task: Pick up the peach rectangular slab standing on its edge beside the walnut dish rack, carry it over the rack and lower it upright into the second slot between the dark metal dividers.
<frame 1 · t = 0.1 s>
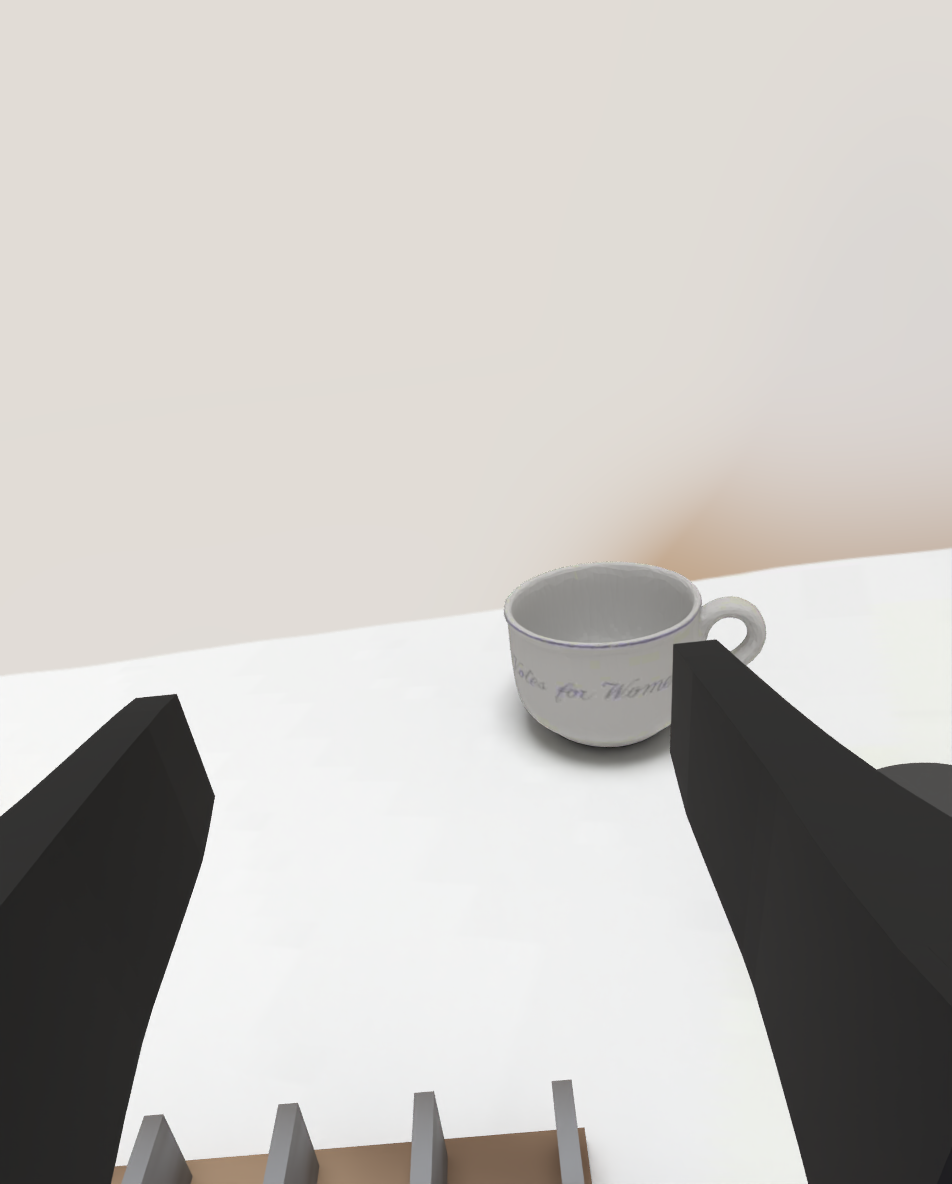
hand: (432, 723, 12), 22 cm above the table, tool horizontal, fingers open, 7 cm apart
teacup: (633, 719, 47), on the table
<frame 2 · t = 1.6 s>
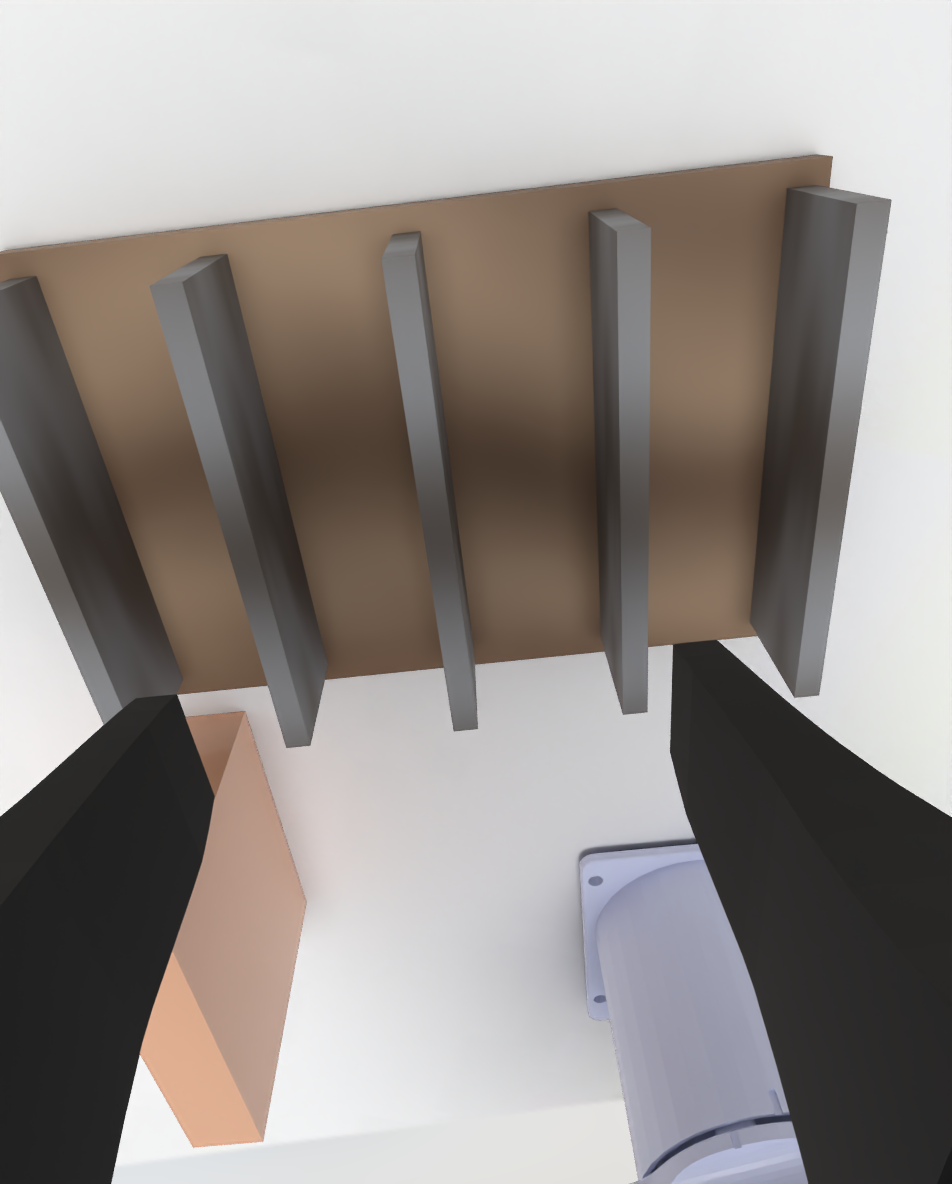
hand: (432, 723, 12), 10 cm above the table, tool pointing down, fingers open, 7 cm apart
peach rectangular slab: (249, 816, 27), on the table
dish rack: (439, 459, 21), on the table
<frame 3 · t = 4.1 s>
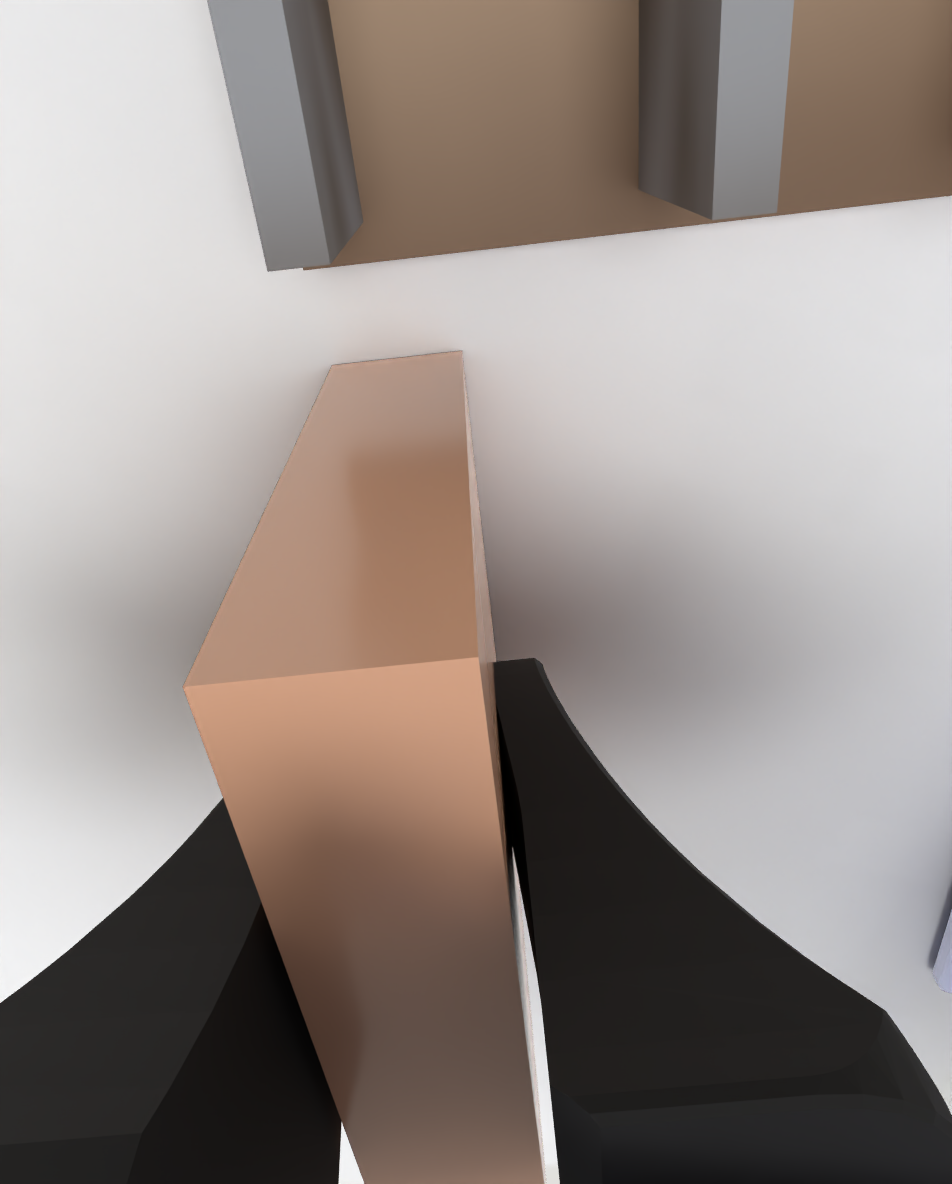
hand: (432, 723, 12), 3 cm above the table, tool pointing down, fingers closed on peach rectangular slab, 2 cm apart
peach rectangular slab: (434, 607, 15), on the table, touching gripper
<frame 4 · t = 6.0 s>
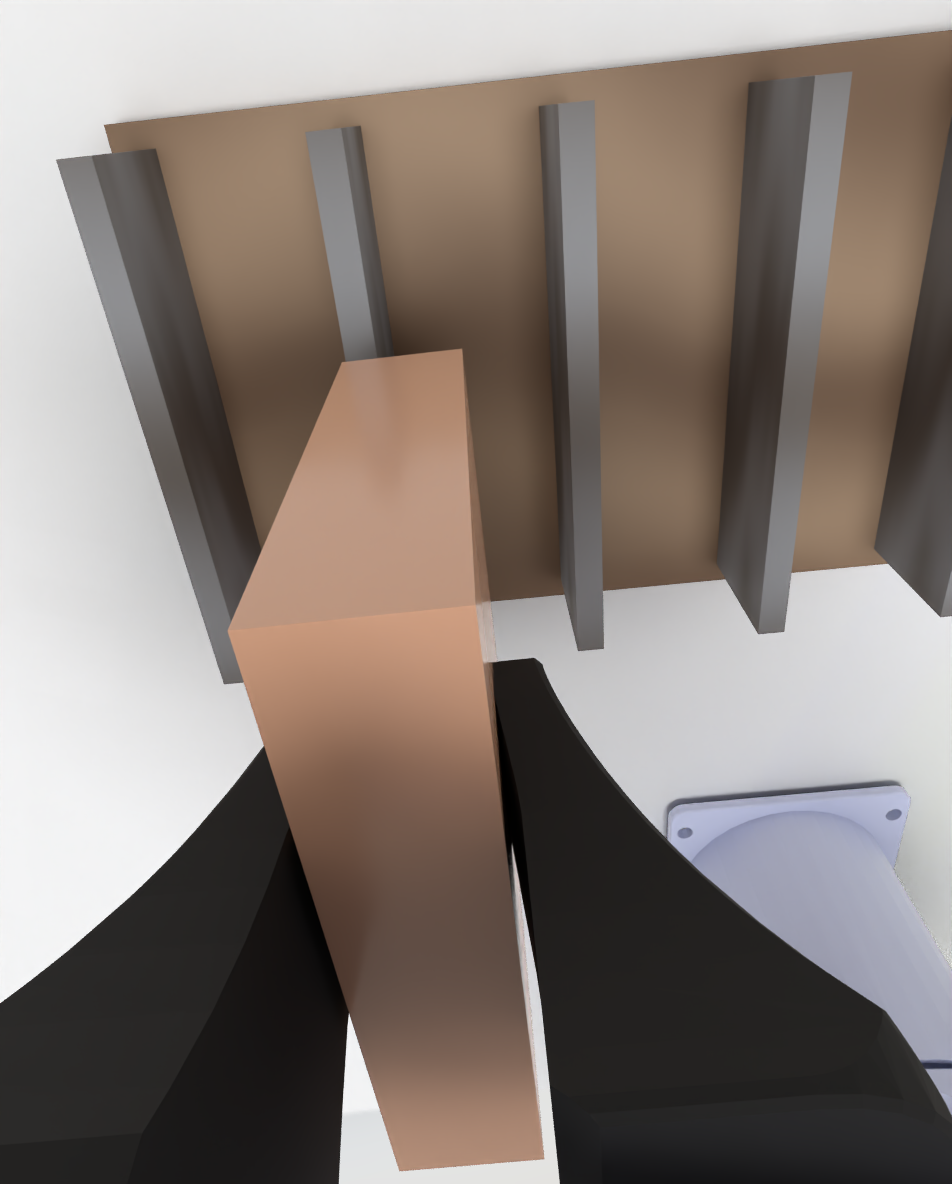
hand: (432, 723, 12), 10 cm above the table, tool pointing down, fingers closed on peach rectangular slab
peach rectangular slab: (437, 588, 16), point 6 cm above the table, touching gripper
dish rack: (560, 367, 20), on the table
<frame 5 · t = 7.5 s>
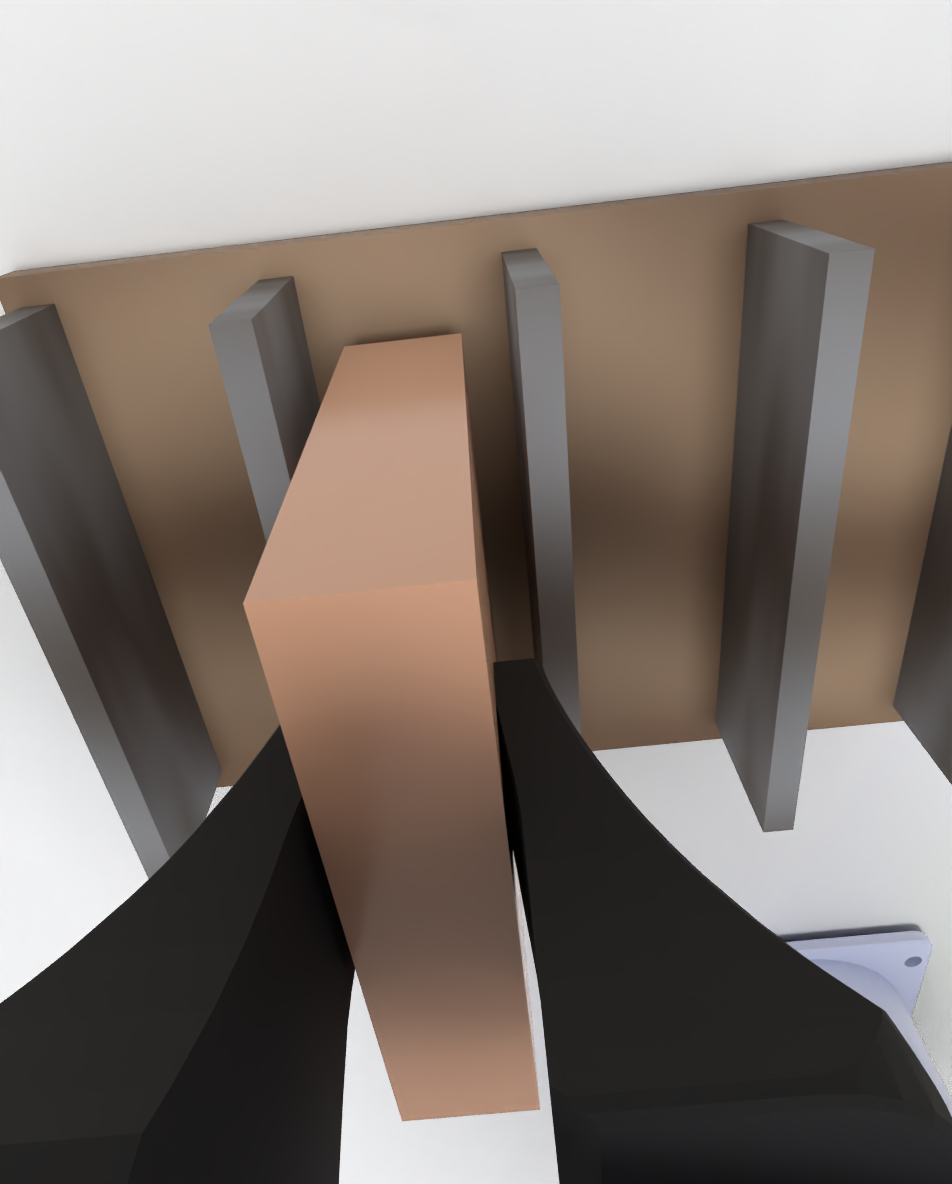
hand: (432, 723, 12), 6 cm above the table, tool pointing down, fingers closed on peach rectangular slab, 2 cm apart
peach rectangular slab: (436, 567, 16), point 2 cm above the table, touching gripper
dish rack: (535, 519, 17), on the table
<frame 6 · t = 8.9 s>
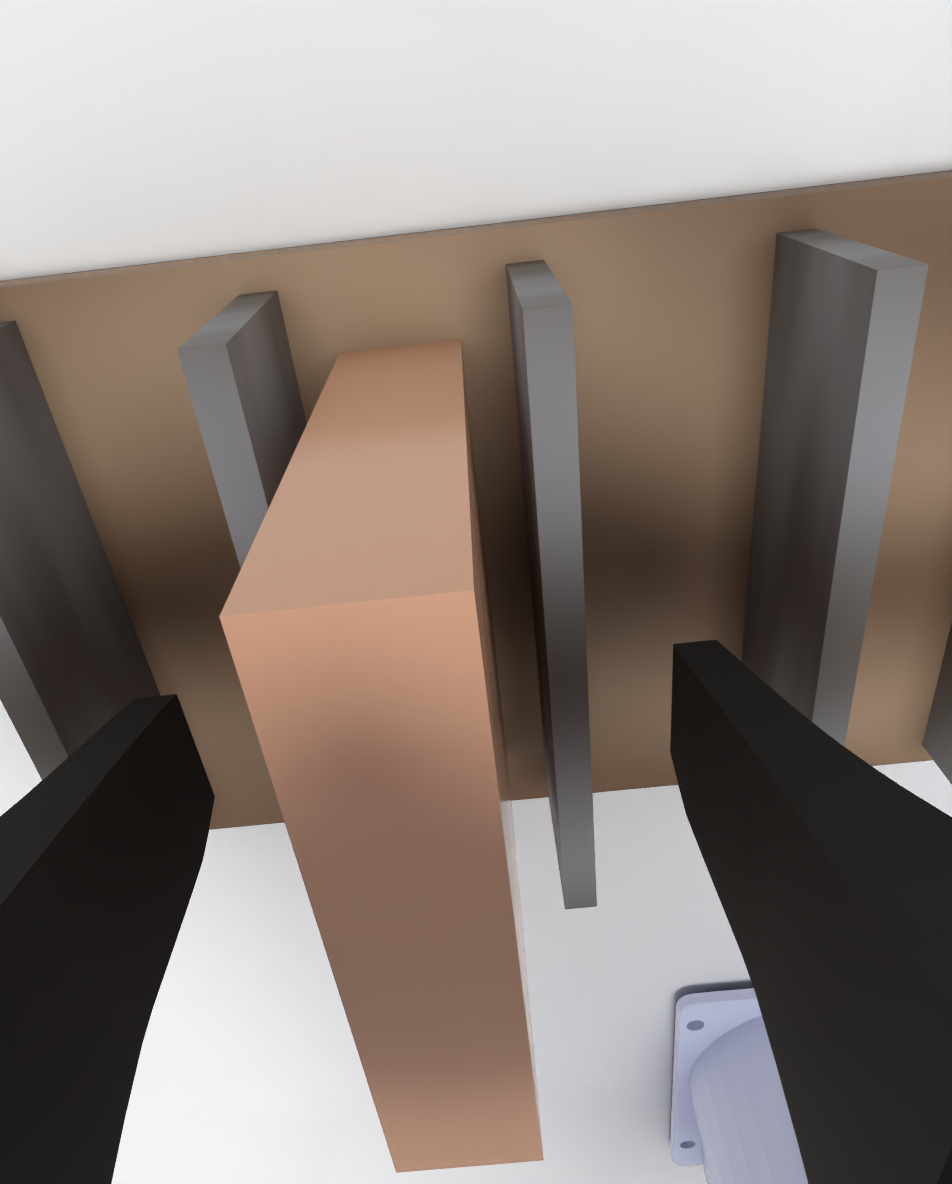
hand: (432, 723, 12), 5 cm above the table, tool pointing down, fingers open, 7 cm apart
peach rectangular slab: (435, 582, 15), point 1 cm above the table, touching dish rack
dish rack: (541, 548, 16), on the table
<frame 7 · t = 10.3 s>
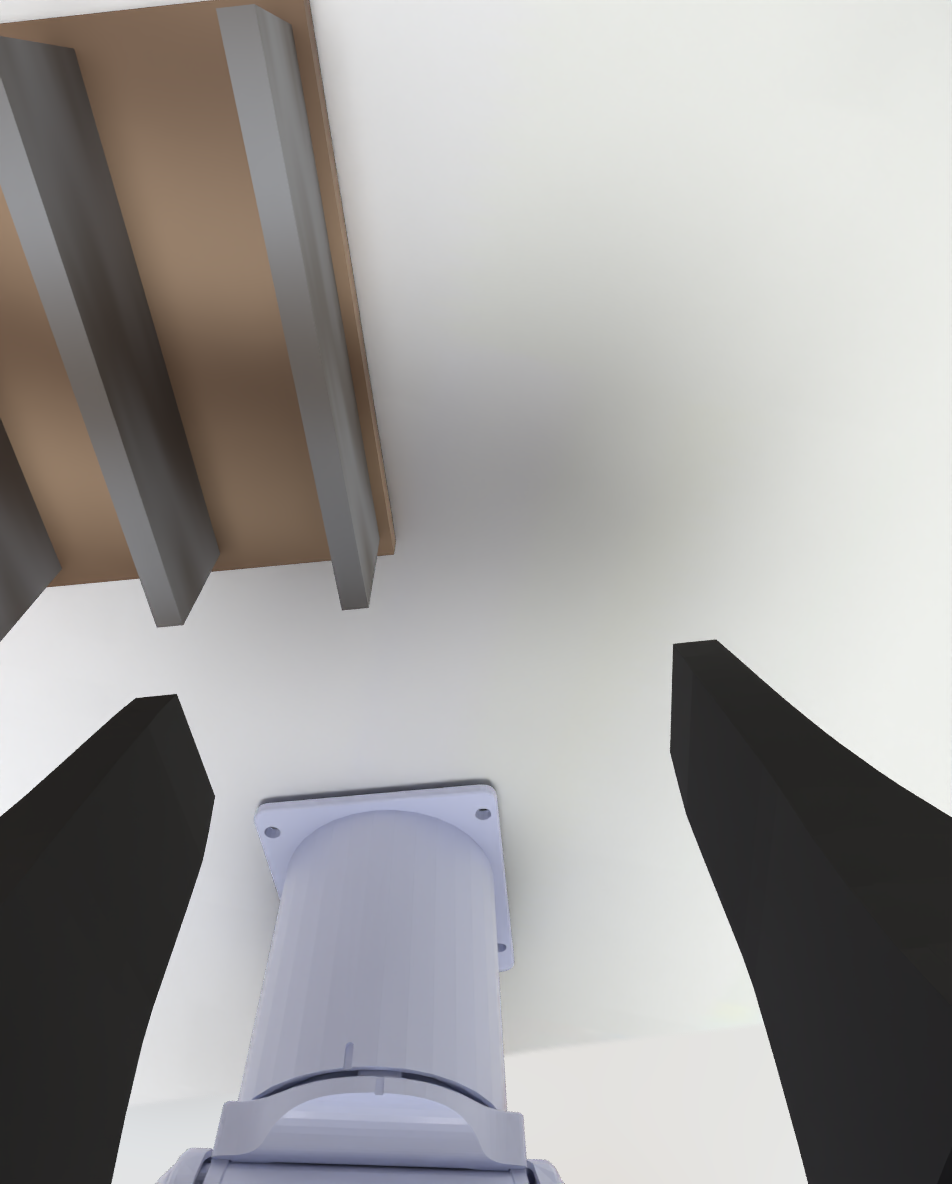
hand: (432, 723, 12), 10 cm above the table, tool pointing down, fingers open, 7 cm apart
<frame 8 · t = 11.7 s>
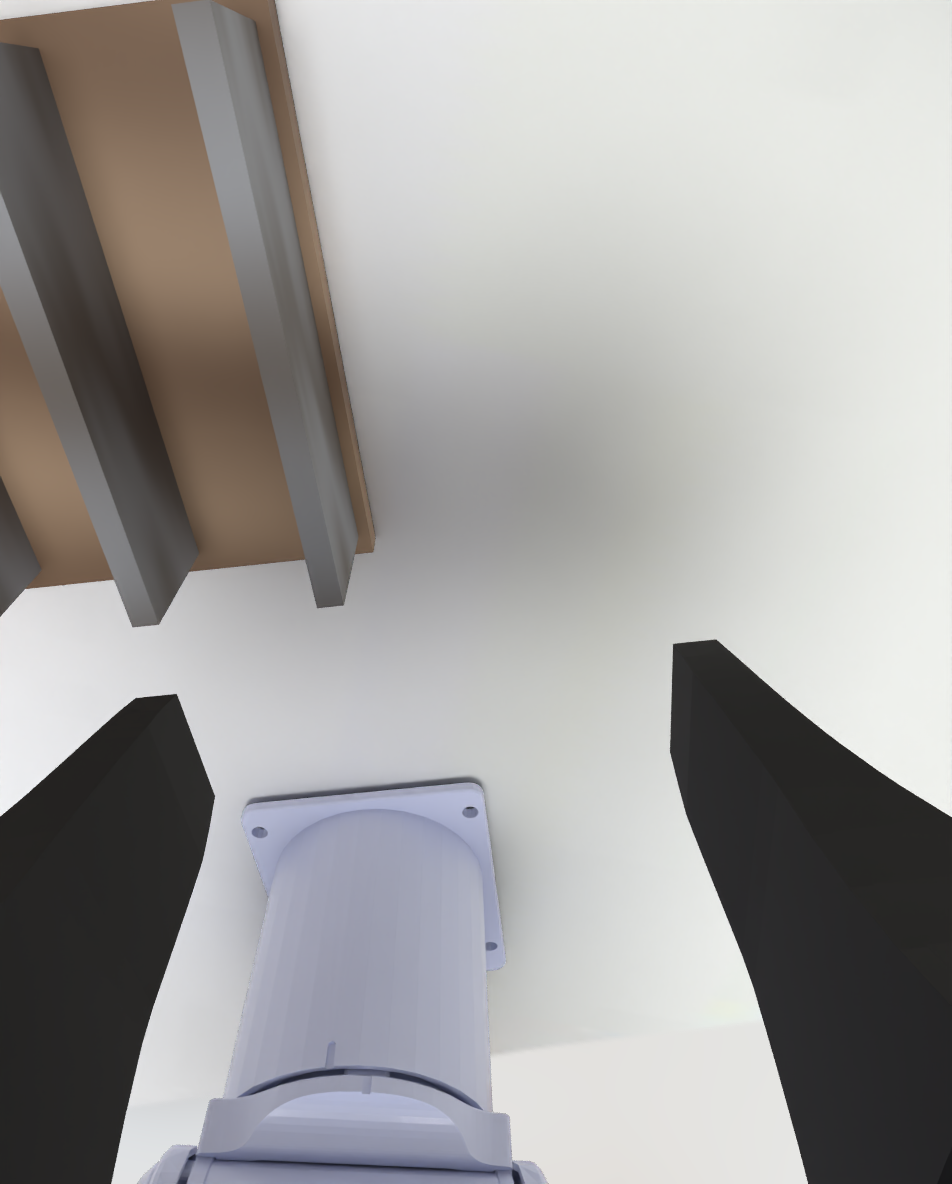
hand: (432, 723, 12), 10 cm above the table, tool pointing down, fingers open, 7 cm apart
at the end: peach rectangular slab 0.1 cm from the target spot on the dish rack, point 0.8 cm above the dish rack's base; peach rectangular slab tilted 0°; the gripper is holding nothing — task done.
